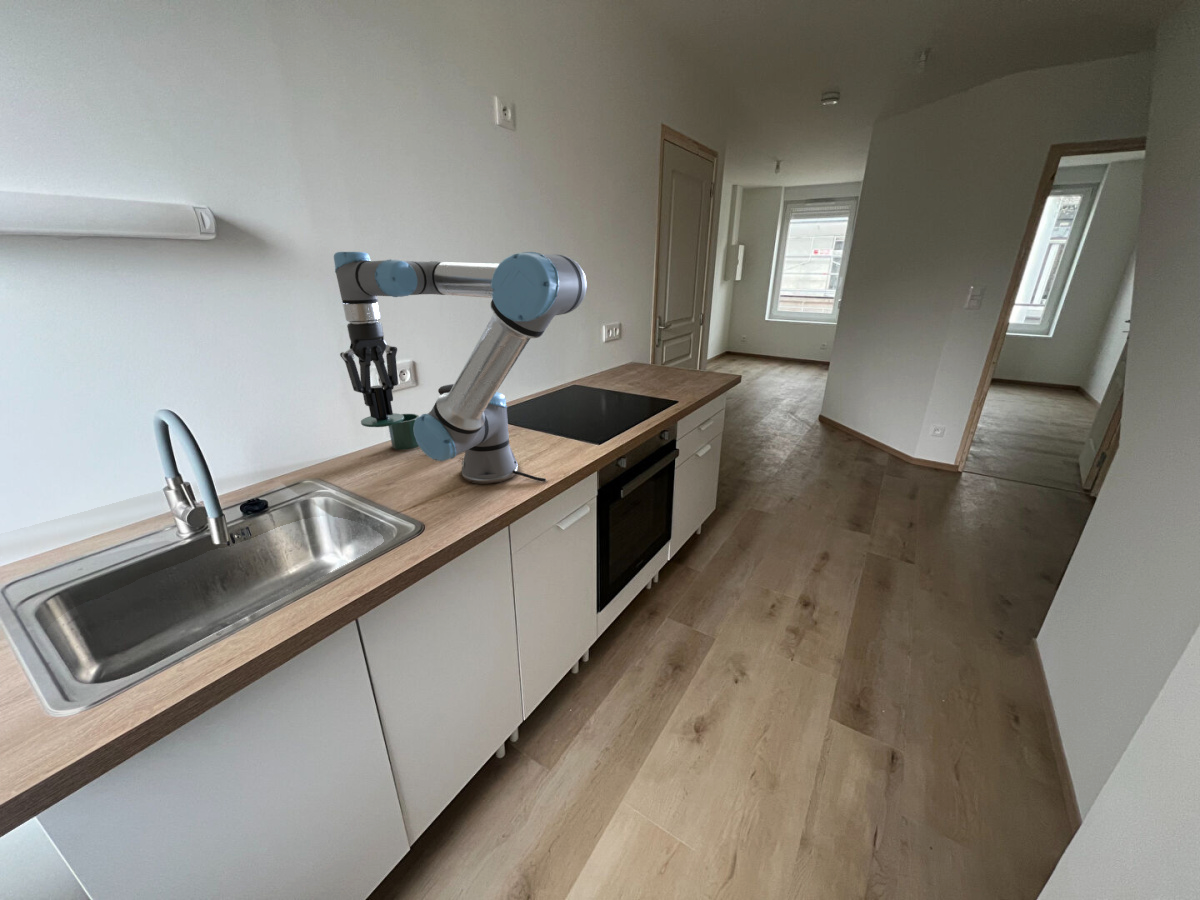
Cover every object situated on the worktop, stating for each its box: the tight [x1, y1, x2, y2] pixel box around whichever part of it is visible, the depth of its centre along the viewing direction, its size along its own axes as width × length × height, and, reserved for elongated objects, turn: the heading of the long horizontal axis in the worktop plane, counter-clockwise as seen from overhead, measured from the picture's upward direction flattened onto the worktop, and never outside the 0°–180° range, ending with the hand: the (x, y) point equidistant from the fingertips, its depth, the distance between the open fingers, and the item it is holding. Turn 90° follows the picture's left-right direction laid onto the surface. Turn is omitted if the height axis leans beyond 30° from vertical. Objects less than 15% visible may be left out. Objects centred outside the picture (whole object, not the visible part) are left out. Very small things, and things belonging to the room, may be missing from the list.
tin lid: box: [360, 384, 404, 428], centre depth 116 cm, size 10×10×10 cm
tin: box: [387, 413, 420, 450], centre depth 144 cm, size 9×9×10 cm
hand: (382, 415), depth 117 cm, fingers closed on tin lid, 3 cm apart
